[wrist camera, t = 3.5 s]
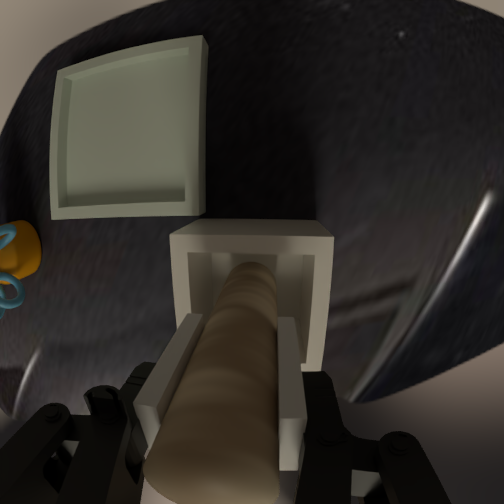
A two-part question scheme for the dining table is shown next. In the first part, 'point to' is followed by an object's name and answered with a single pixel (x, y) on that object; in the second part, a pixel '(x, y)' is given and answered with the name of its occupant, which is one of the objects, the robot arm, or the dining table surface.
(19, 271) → the tube with teal loops
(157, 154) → the tray
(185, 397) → the dowel
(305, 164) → the dining table surface
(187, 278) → the hollow square block
